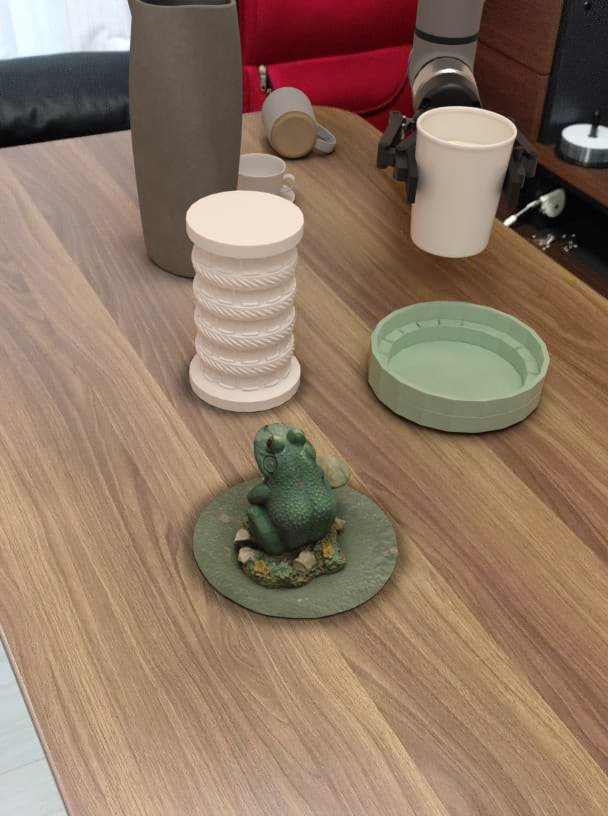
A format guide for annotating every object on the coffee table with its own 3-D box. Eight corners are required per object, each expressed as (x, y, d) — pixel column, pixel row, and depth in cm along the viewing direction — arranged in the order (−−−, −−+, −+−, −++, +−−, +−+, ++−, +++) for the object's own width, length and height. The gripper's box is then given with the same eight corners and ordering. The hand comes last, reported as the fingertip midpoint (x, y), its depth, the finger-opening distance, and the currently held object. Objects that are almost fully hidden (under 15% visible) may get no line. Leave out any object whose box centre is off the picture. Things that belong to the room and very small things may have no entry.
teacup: (212, 209, 129) (211, 175, 126) (232, 178, 136) (232, 144, 133) (285, 220, 128) (286, 185, 125) (302, 188, 135) (303, 154, 132)
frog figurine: (334, 454, 94) (342, 352, 86) (437, 577, 83) (458, 473, 75) (161, 508, 87) (152, 403, 79) (248, 649, 76) (248, 544, 68)
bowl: (526, 340, 110) (535, 305, 107) (552, 441, 97) (562, 405, 94) (365, 332, 109) (369, 296, 106) (369, 432, 96) (374, 395, 93)
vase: (244, 287, 115) (243, 10, 94) (139, 287, 114) (115, 7, 93) (241, 237, 124) (241, -26, 103) (144, 237, 123) (124, -30, 102)
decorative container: (193, 415, 97) (186, 249, 85) (185, 350, 105) (177, 190, 93) (308, 408, 99) (317, 244, 86) (291, 345, 107) (297, 186, 94)
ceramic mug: (269, 162, 140) (271, 107, 135) (260, 139, 146) (261, 85, 141) (340, 160, 142) (345, 107, 137) (329, 138, 148) (333, 85, 142)
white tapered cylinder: (390, 248, 101) (403, 133, 93) (419, 210, 108) (434, 99, 100) (480, 270, 99) (502, 153, 91) (505, 230, 106) (527, 117, 97)
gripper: (535, 143, 114) (566, 234, 98) (348, 133, 114) (348, 223, 98) (549, 76, 109) (584, 161, 93) (353, 65, 109) (354, 148, 93)
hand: (463, 193), depth 95 cm, fingers closed on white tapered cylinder, 9 cm apart
